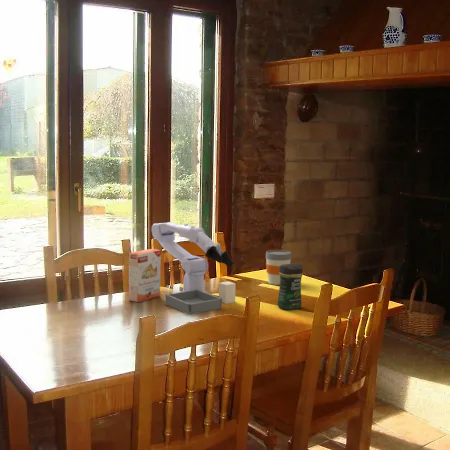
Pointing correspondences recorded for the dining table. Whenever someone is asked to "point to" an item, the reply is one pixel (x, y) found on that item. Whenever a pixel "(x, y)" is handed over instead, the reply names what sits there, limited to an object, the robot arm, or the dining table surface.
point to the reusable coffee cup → (276, 264)
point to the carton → (227, 292)
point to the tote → (193, 301)
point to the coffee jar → (290, 286)
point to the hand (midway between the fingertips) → (226, 263)
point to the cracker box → (144, 275)
